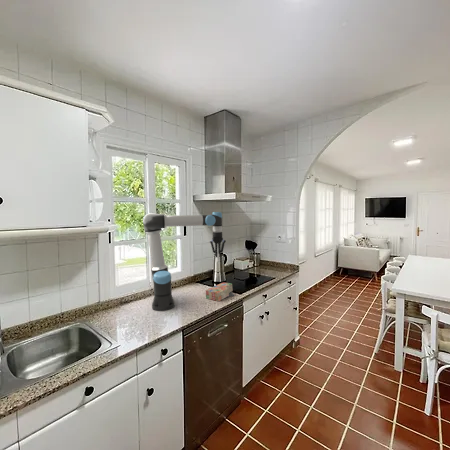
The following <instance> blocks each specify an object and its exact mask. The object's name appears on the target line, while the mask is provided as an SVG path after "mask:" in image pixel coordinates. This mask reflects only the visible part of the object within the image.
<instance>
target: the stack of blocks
mask: <svg viewBox="0 0 450 450" xmlns="http://www.w3.org/2000/svg"><path fill="white" fill-rule="evenodd" d="M230 292H232V293H233V283H230V282H221V283H219V284H217V285H215V286H212V287H211V288H207V289H205V298H206V299H207V300H211V301H216V302H221V301H222V300H224V299H227V298H228V297H227V296H229V293H230Z"/></svg>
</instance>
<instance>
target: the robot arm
mask: <svg viewBox="0 0 450 450" xmlns="http://www.w3.org/2000/svg"><path fill="white" fill-rule="evenodd" d="M142 224H143V229H144V234H146V235H147V238H148V244H149V251H150V257H151V262H152V268H151V275H152V276H151V277H152V281H153V282H152V283H153V295H154V296H153V300H152V302H151V308H152V310H154V311H160V312H161V311H168V310H171V309H173V308H174V307H175V305H176V303H175V299H174V296H173V295H172V294H173V293H172V274H171V272H170V271H169V268H168V265H166V263H165V262H166V261H165V256H164V251H163V245H162V238H161V237H162V236H161V233H162V229H166V228H167V227H168V228H170V227H196V226H197V227H199V226H201V227H202V226H205V227H206V226H209V227H210V226H211V227H212V238H211V240H209V243H210V245H211V246H210V247H211V250H212V253H213V254H214V255H215V258H216V262H217V263H219V262H220V258H221V256H222V255H221V254H222V253H223V252H224V249H225V244H226V243H227V242H226V240H225V239H224V237H223V212H221V211H213V212H212V214H195V215H194V214H189V215H188V214H183V215H181V214H179V215H166V214H165V213H156V212H149V213H148V212H147V213H146V214H145V215H144V216H143V218H142Z"/></svg>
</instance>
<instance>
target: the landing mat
mask: <svg viewBox="0 0 450 450" xmlns="http://www.w3.org/2000/svg"><path fill="white" fill-rule="evenodd" d="M228 297H229V298H230V297H235V294H234V293H233V291H232V292H230V293H229V296H227V297H226V298H228Z"/></svg>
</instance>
